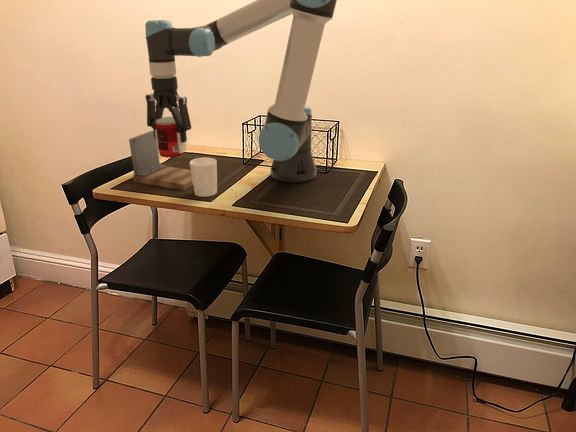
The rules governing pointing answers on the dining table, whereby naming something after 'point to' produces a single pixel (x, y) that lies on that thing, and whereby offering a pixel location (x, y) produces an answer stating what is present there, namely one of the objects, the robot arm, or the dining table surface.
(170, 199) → the dining table surface
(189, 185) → the shelf board
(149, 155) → the bookend
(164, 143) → the canned food
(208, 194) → the white cup
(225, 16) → the robot arm
